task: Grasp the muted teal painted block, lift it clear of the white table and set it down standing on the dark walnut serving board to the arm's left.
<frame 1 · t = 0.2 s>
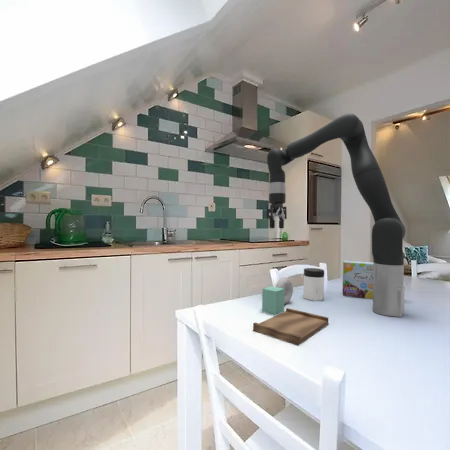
hand: (276, 228, 125), 29 cm above the table, fingers open, 8 cm apart
snack box: (369, 298, 116), on the table
donut: (283, 304, 105), on the table
block: (273, 311, 95), on the table
jar: (313, 298, 113), on the table
board: (292, 327, 80), on the table
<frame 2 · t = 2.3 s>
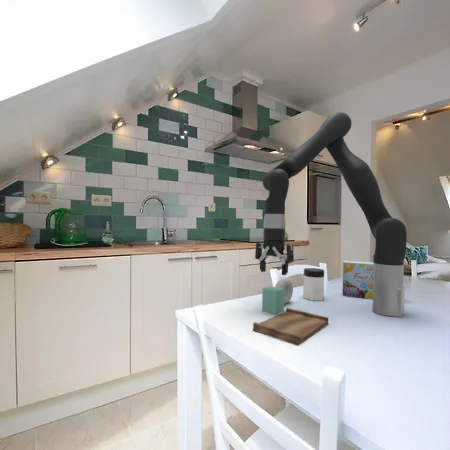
hand: (273, 273, 95), 13 cm above the table, fingers open, 8 cm apart
nothing on the table moved.
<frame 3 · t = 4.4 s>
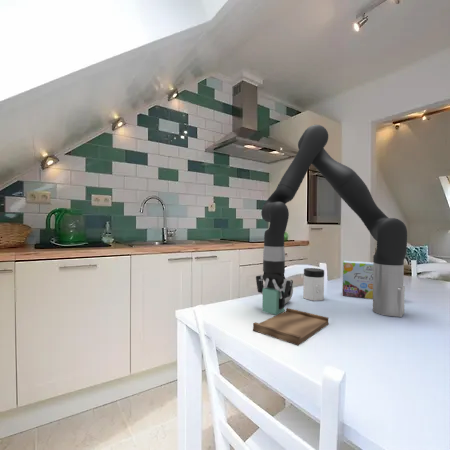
hand: (273, 306, 95), 2 cm above the table, fingers closed on block, 5 cm apart
block: (273, 311, 95), on the table, touching gripper
everything else where it was.
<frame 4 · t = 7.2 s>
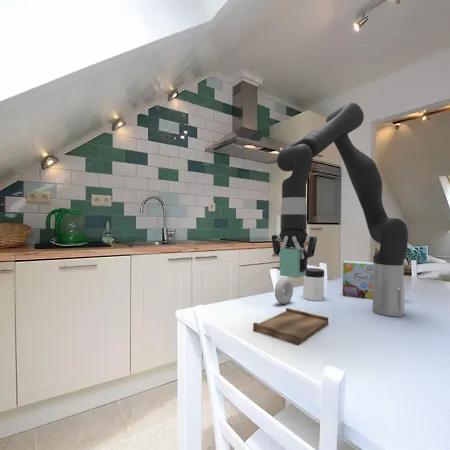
hand: (292, 270, 81), 17 cm above the table, fingers closed on block, 5 cm apart
block: (292, 275, 80), point 15 cm above the table, touching gripper
everything else where it was.
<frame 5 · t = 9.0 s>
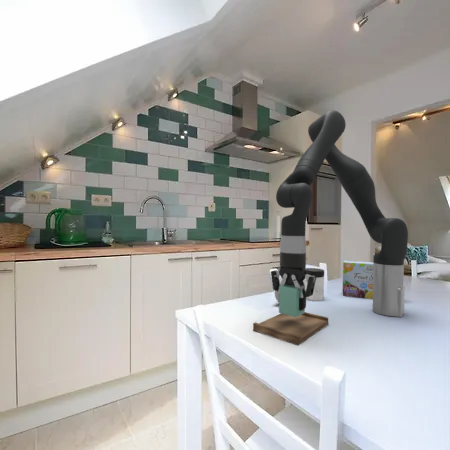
hand: (291, 307, 81), 6 cm above the table, fingers closed on block, 5 cm apart
block: (291, 312, 81), point 4 cm above the table, touching gripper
everything else where it was.
when the fingers open (4 cm above the table, at t = 10.3 s): block drops 2 cm, resting on board.
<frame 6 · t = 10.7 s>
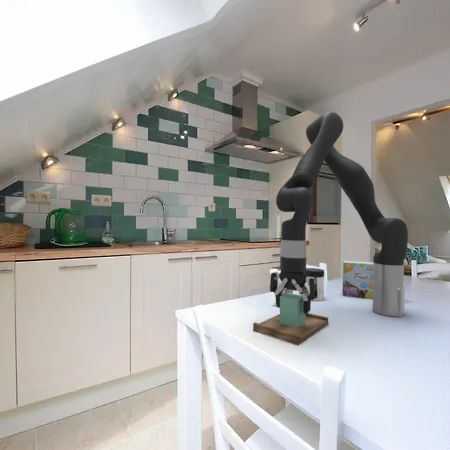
hand: (292, 309, 80), 5 cm above the table, fingers open, 8 cm apart
block: (292, 323, 80), point 1 cm above the table, touching board
everything else where it was.
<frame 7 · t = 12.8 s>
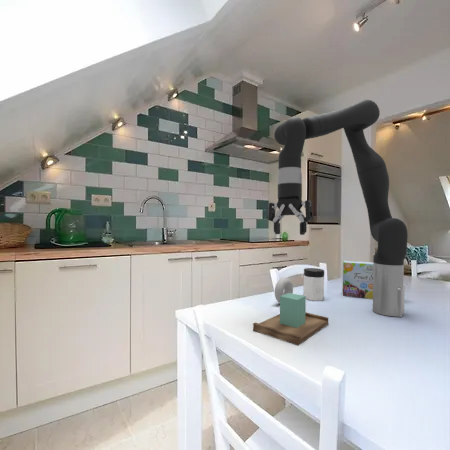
hand: (289, 234, 86), 27 cm above the table, fingers open, 8 cm apart
nothing on the table moved.
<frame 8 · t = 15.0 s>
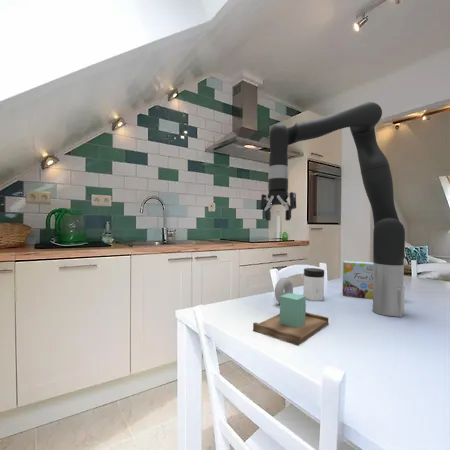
hand: (277, 220, 105), 32 cm above the table, fingers open, 8 cm apart
nothing on the table moved.
at the end: block inside the target area on the board (0.1 cm from its centre), point 1.2 cm above the board's base; block tilted 0°; the gripper is holding nothing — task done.
